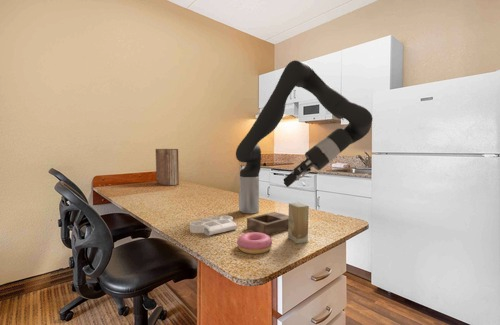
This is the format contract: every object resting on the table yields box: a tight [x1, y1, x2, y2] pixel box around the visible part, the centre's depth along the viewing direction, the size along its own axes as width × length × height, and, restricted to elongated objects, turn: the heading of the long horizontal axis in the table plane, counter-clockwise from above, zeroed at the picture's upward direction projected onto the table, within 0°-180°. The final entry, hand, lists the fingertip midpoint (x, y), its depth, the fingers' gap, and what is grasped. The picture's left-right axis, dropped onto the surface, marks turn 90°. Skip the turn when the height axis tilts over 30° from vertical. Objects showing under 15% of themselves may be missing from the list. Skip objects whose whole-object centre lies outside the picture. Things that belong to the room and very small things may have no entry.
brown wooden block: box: [155, 148, 180, 187], centre depth 218 cm, size 25×9×30 cm, turn 41°
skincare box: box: [287, 201, 310, 244], centre depth 86 cm, size 6×4×12 cm
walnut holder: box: [246, 211, 289, 237], centre depth 99 cm, size 11×15×4 cm
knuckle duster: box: [189, 214, 238, 237], centre depth 99 cm, size 3×18×15 cm
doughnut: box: [236, 231, 273, 255], centre depth 80 cm, size 11×11×4 cm
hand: (285, 183), depth 86 cm, fingers open, 8 cm apart
